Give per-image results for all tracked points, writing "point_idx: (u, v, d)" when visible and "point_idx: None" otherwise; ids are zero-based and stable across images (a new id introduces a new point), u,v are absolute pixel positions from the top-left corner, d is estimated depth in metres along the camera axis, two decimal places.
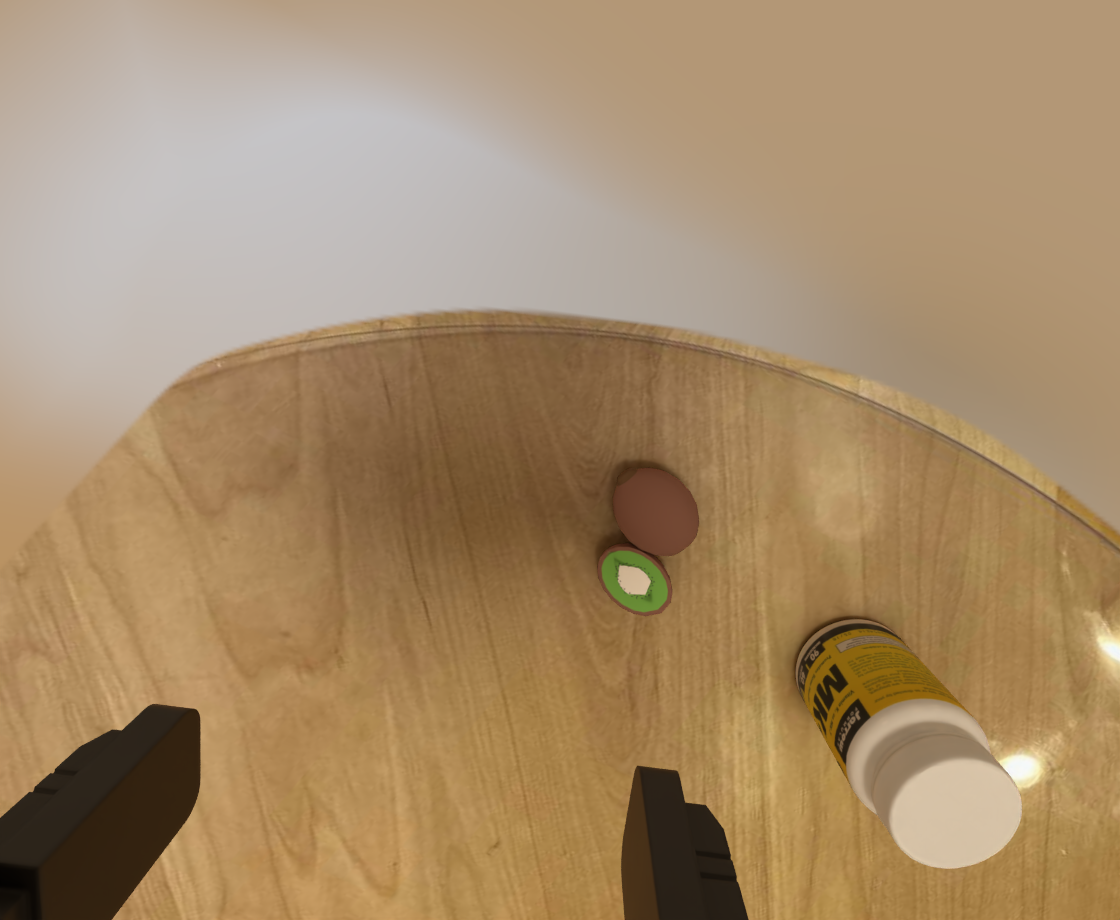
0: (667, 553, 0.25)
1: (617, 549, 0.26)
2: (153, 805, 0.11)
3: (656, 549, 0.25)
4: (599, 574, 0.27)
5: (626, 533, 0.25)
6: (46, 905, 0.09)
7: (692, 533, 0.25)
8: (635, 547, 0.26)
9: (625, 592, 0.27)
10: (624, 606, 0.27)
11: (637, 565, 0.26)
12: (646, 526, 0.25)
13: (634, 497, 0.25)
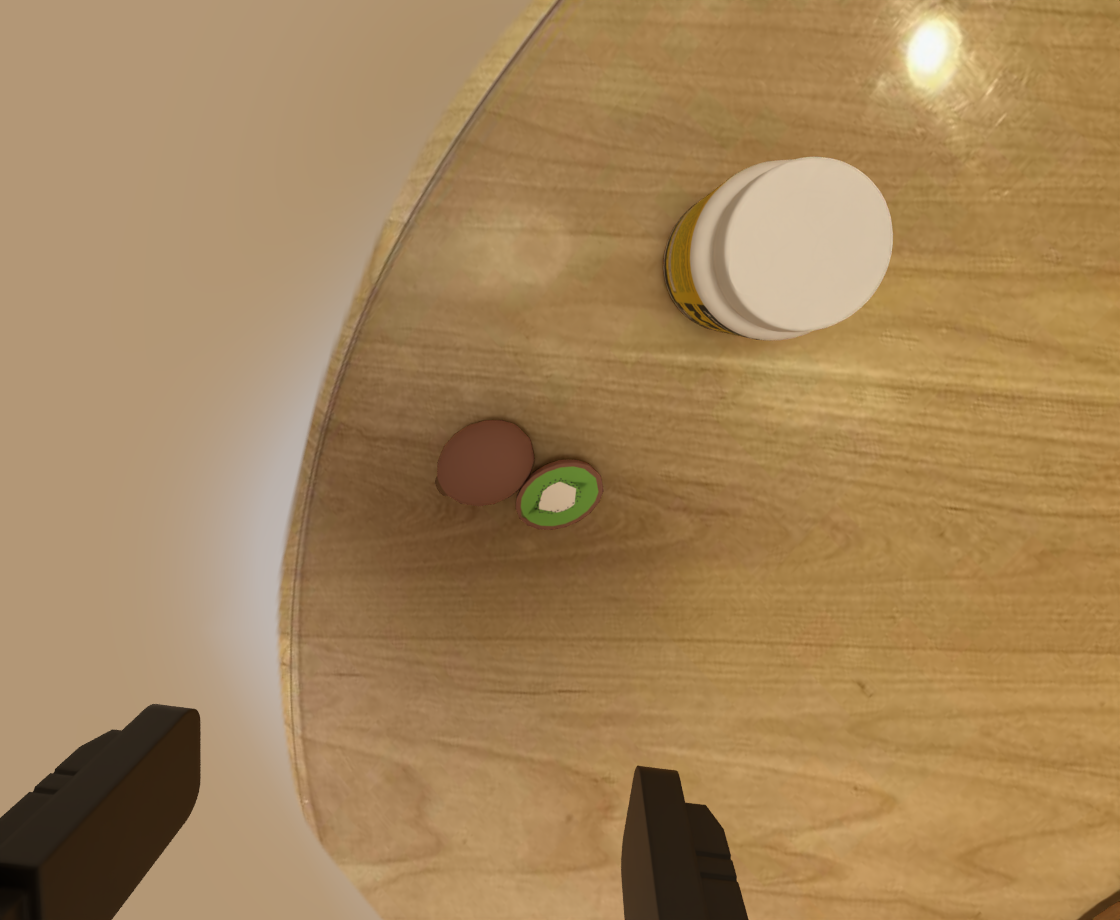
0: (524, 464, 0.24)
1: (519, 508, 0.25)
2: (153, 805, 0.11)
3: (515, 476, 0.24)
4: (548, 528, 0.25)
5: (496, 500, 0.24)
6: (46, 905, 0.09)
7: (505, 435, 0.24)
8: (519, 490, 0.25)
9: (572, 507, 0.25)
10: (589, 509, 0.25)
11: (539, 492, 0.25)
12: (483, 485, 0.24)
13: (454, 489, 0.24)
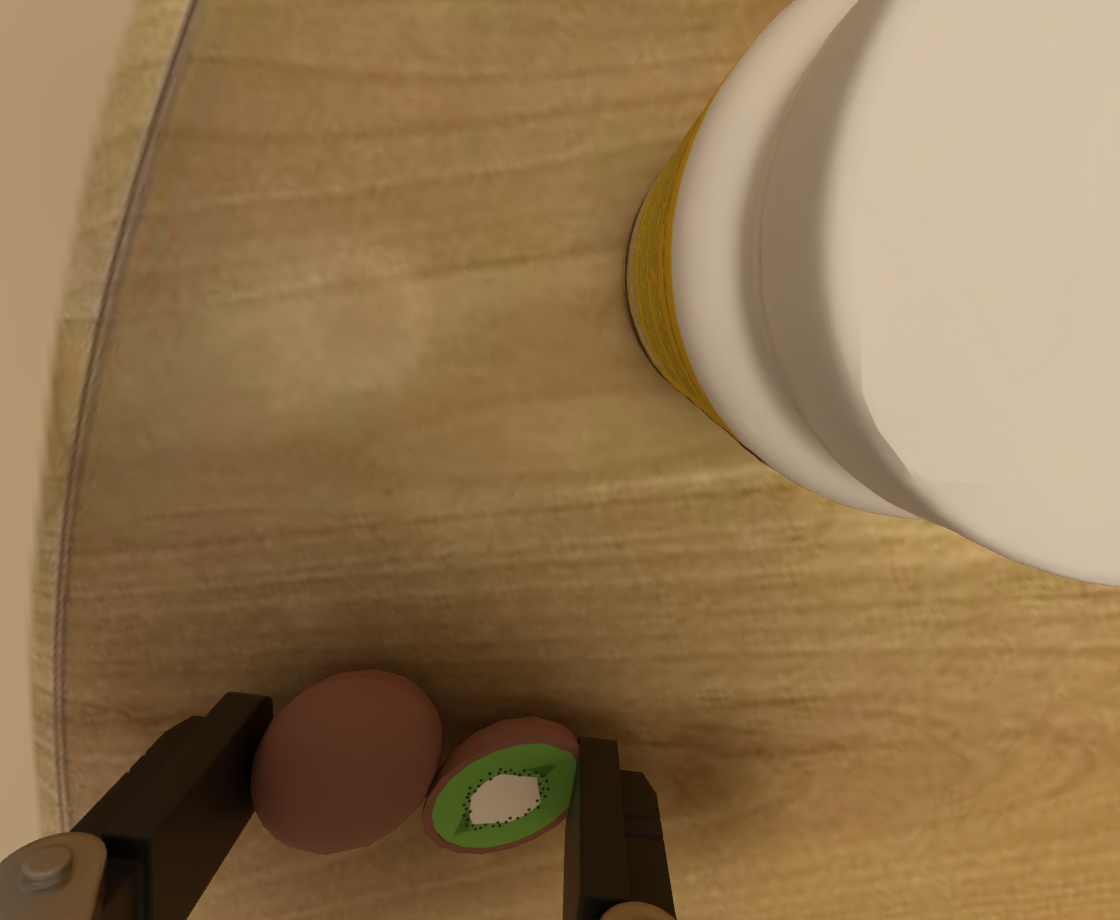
0: (414, 768, 0.11)
1: (433, 832, 0.12)
2: (236, 786, 0.12)
3: (399, 798, 0.11)
4: (500, 848, 0.13)
5: (380, 837, 0.12)
6: (156, 875, 0.09)
7: (362, 721, 0.11)
8: None
9: (538, 807, 0.13)
10: None
11: (464, 799, 0.12)
12: (336, 832, 0.11)
13: (284, 840, 0.12)
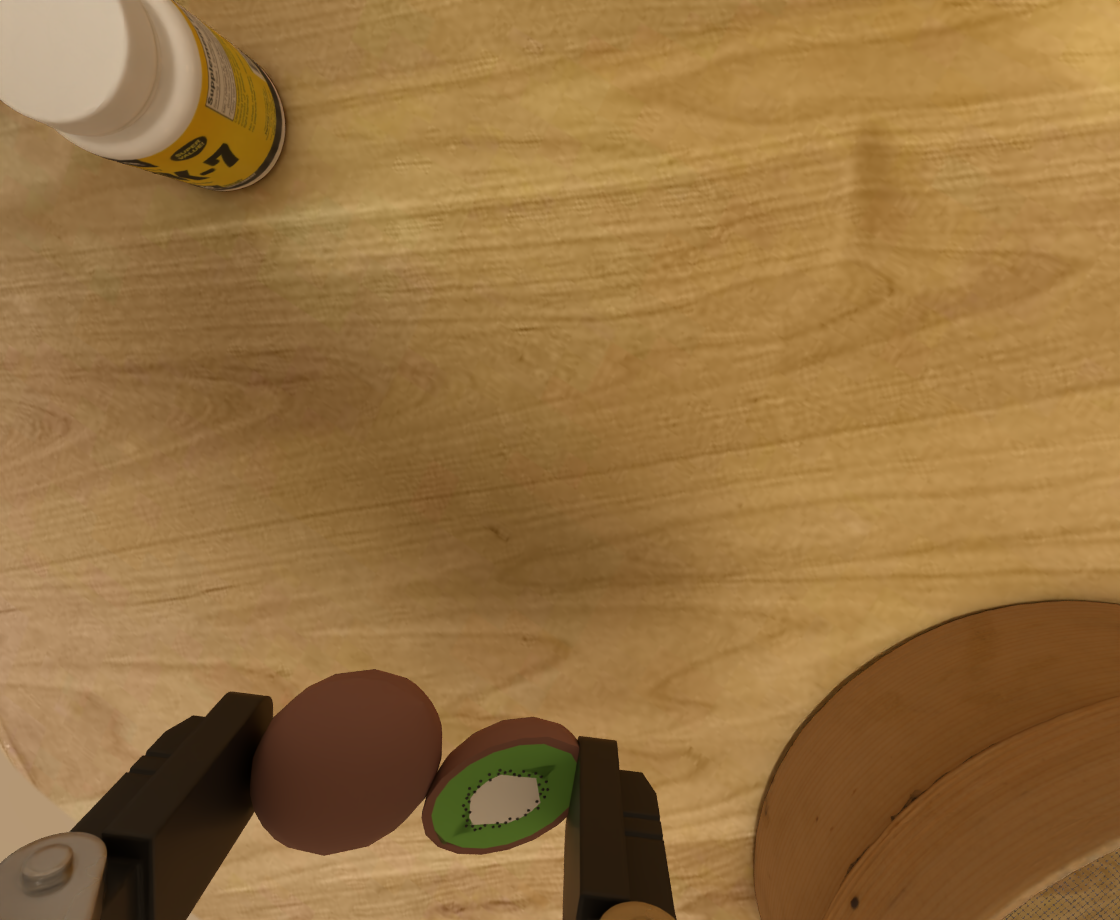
0: (414, 768, 0.11)
1: (432, 833, 0.12)
2: (236, 786, 0.12)
3: (399, 799, 0.11)
4: (500, 848, 0.13)
5: (379, 838, 0.12)
6: (156, 875, 0.09)
7: (362, 722, 0.11)
8: (425, 801, 0.12)
9: (538, 808, 0.13)
10: None
11: (464, 799, 0.12)
12: (335, 833, 0.11)
13: (284, 841, 0.12)
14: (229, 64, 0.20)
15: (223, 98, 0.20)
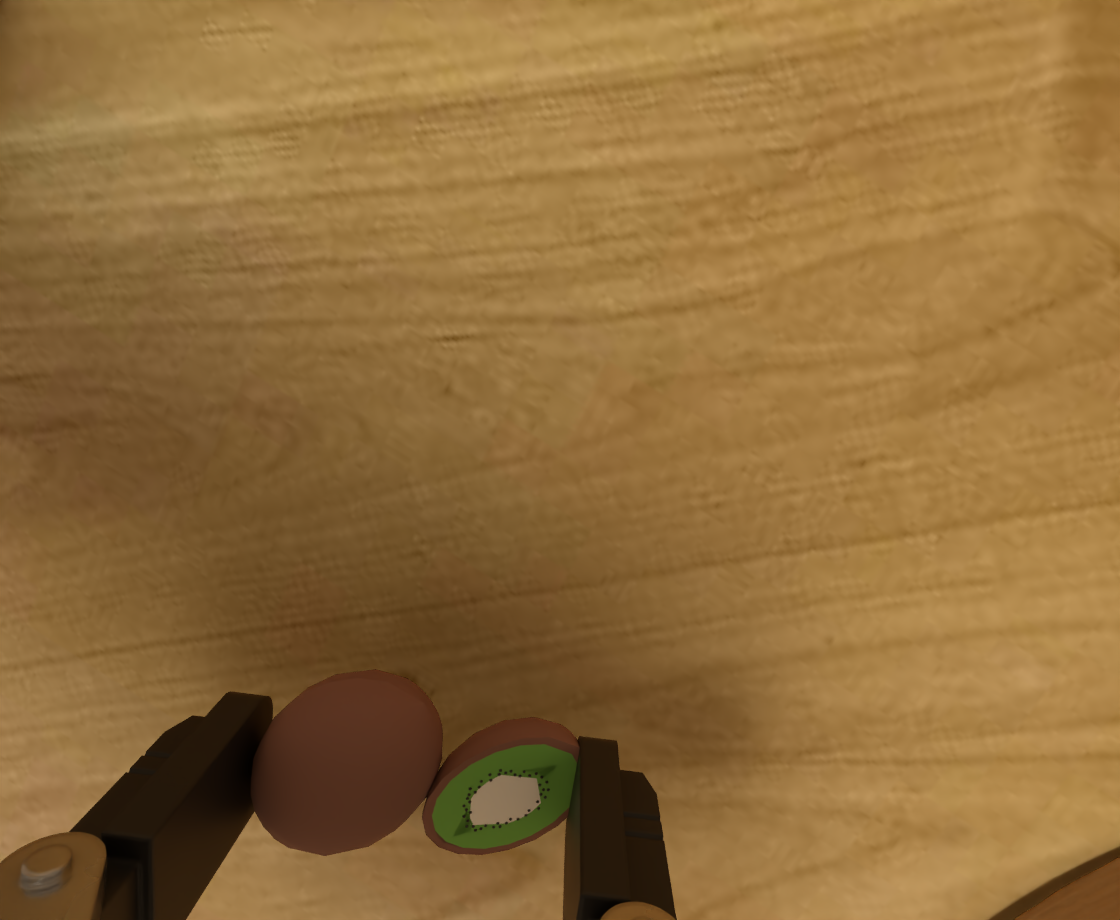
0: (414, 769, 0.11)
1: (433, 833, 0.12)
2: (236, 786, 0.12)
3: (399, 799, 0.11)
4: (501, 849, 0.13)
5: (380, 838, 0.12)
6: (156, 875, 0.09)
7: (363, 722, 0.11)
8: None
9: (538, 808, 0.13)
10: None
11: (464, 800, 0.12)
12: (336, 834, 0.11)
13: (284, 841, 0.12)
14: None
15: None
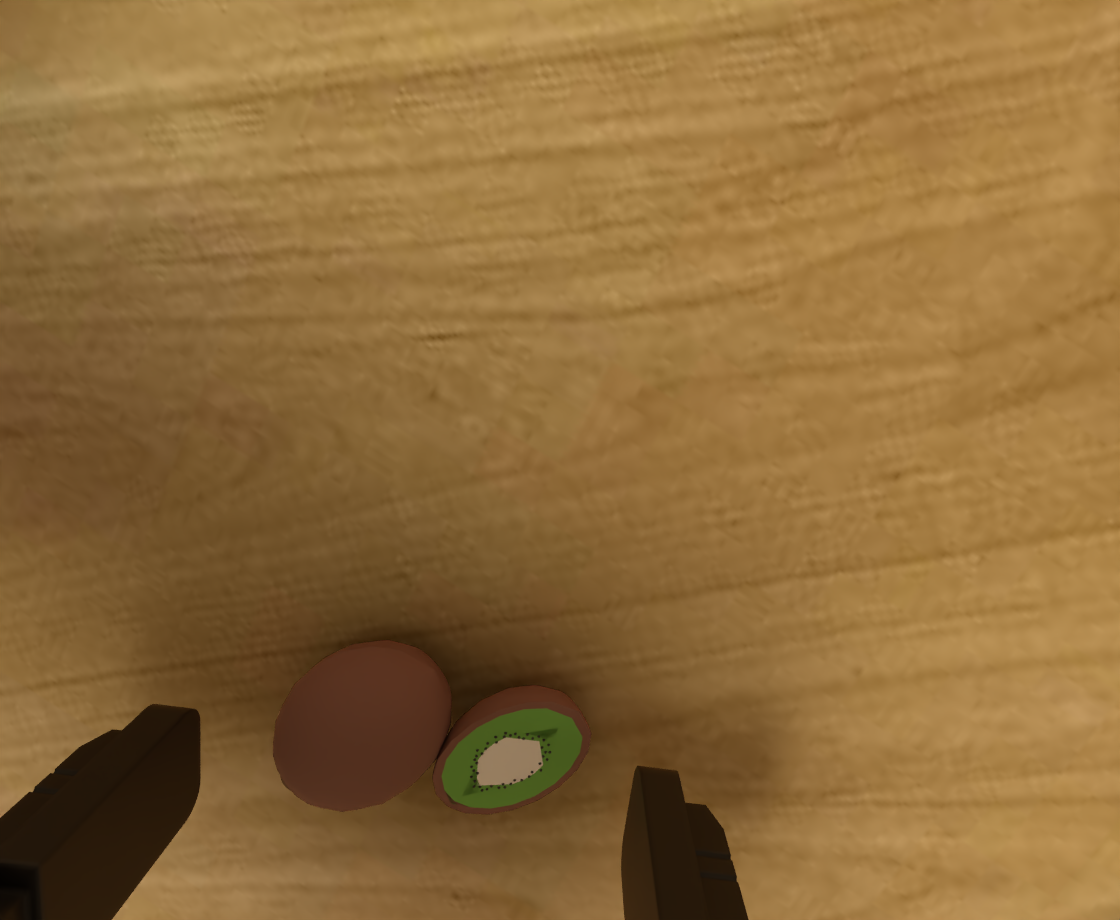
0: (426, 729, 0.12)
1: (442, 793, 0.13)
2: (153, 805, 0.11)
3: (412, 757, 0.12)
4: (505, 809, 0.14)
5: (393, 796, 0.13)
6: (46, 905, 0.09)
7: (378, 686, 0.12)
8: None
9: (540, 770, 0.13)
10: (573, 766, 0.14)
11: (472, 761, 0.13)
12: (353, 789, 0.12)
13: (305, 797, 0.12)
14: None
15: None
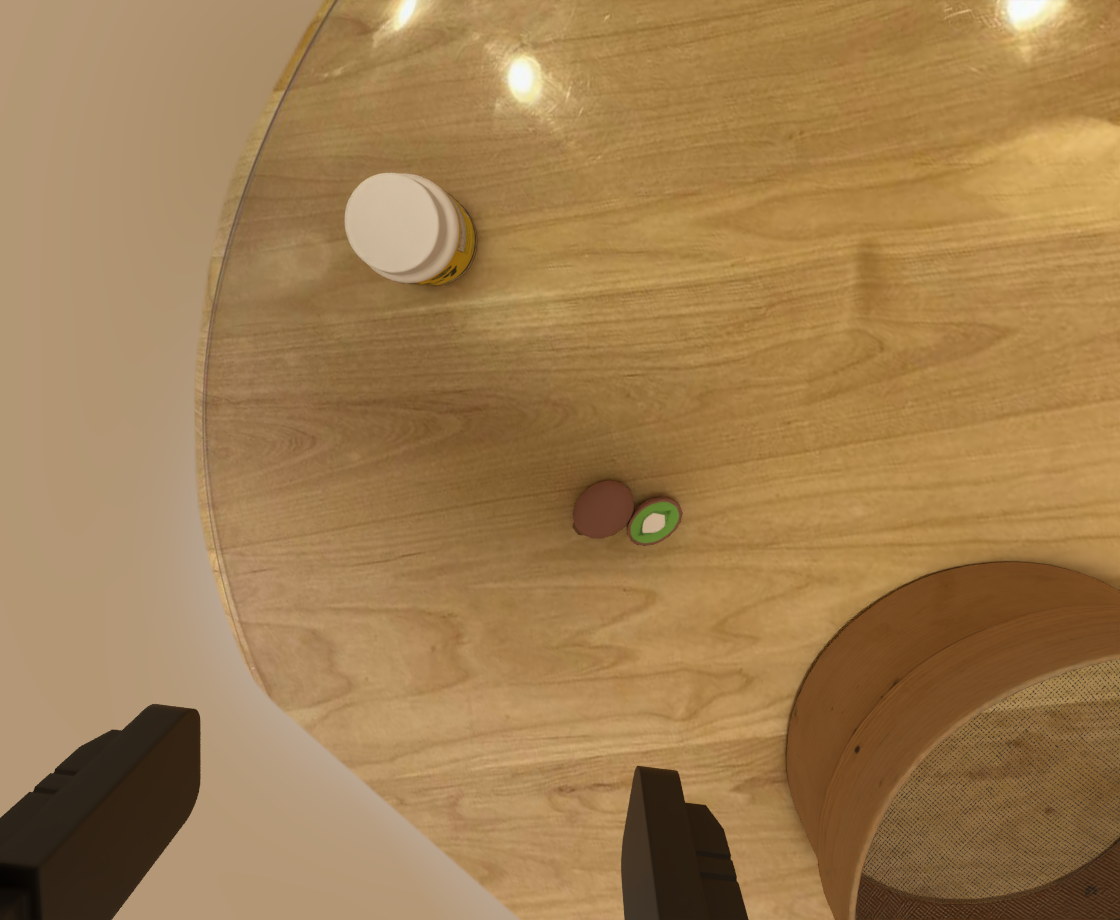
0: (629, 506, 0.37)
1: (630, 535, 0.38)
2: (153, 805, 0.11)
3: (625, 515, 0.37)
4: (650, 544, 0.38)
5: (615, 532, 0.37)
6: (46, 905, 0.09)
7: (614, 490, 0.37)
8: (628, 523, 0.38)
9: (664, 527, 0.38)
10: (675, 527, 0.38)
11: (641, 522, 0.38)
12: (607, 524, 0.37)
13: (588, 530, 0.37)
14: (463, 219, 0.32)
15: (462, 242, 0.32)
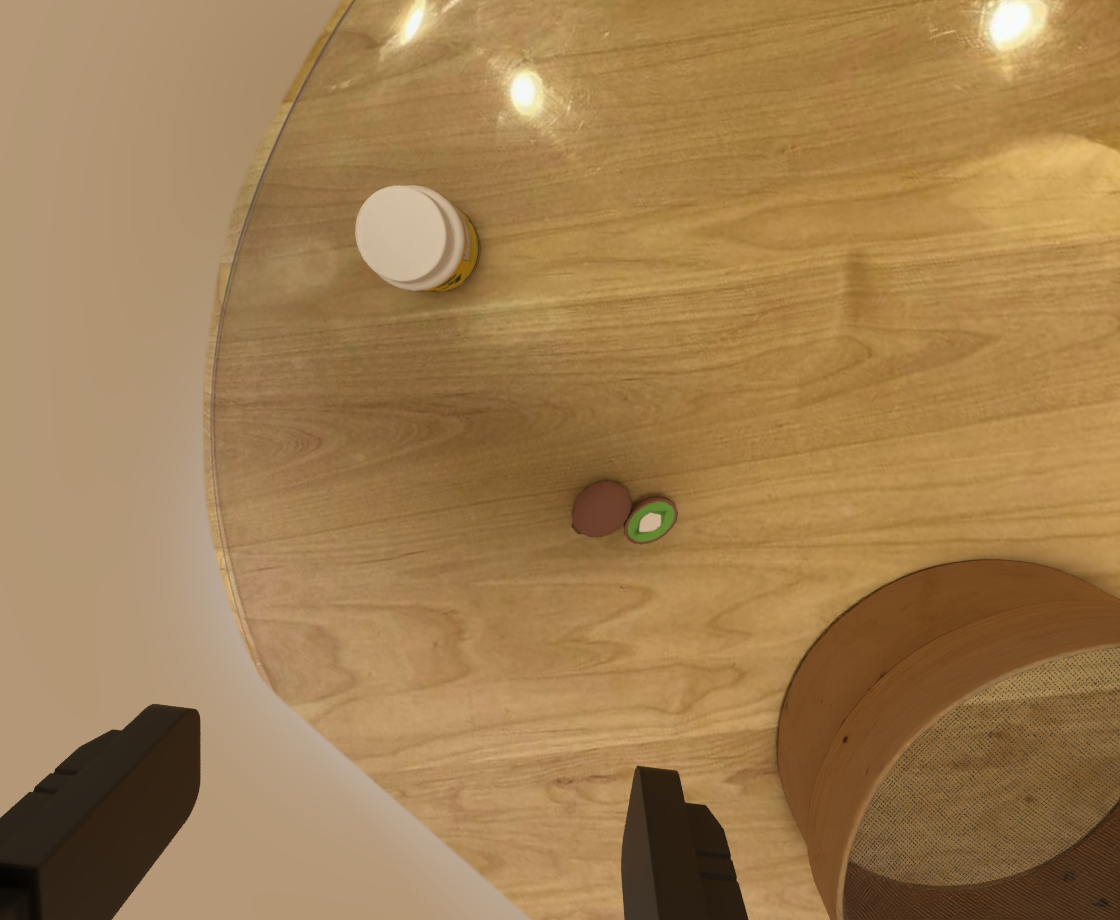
0: (627, 506, 0.38)
1: (627, 533, 0.39)
2: (153, 805, 0.11)
3: (623, 515, 0.38)
4: (646, 542, 0.40)
5: (613, 531, 0.39)
6: (46, 905, 0.09)
7: (612, 491, 0.38)
8: (625, 522, 0.39)
9: (660, 526, 0.39)
10: (671, 526, 0.39)
11: (638, 521, 0.39)
12: (605, 524, 0.38)
13: (586, 529, 0.38)
14: (468, 228, 0.33)
15: (467, 251, 0.33)
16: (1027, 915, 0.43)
